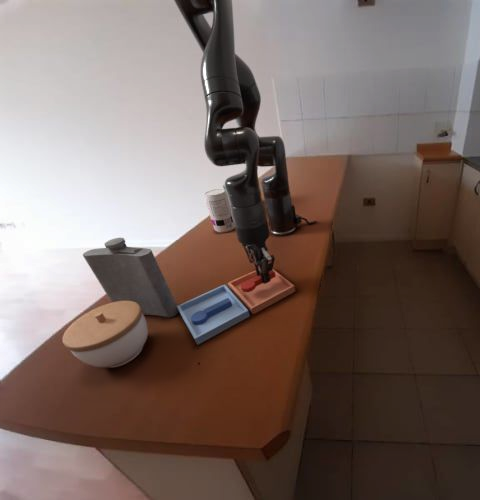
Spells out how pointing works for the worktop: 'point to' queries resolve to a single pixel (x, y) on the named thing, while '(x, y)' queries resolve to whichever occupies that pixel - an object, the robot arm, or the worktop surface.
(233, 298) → the blue tray
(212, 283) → the worktop surface
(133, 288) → the hip flask
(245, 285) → the red spoon
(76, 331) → the lidded bowl
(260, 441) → the worktop surface
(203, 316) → the blue spoon
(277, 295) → the orange tray
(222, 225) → the supplement can
